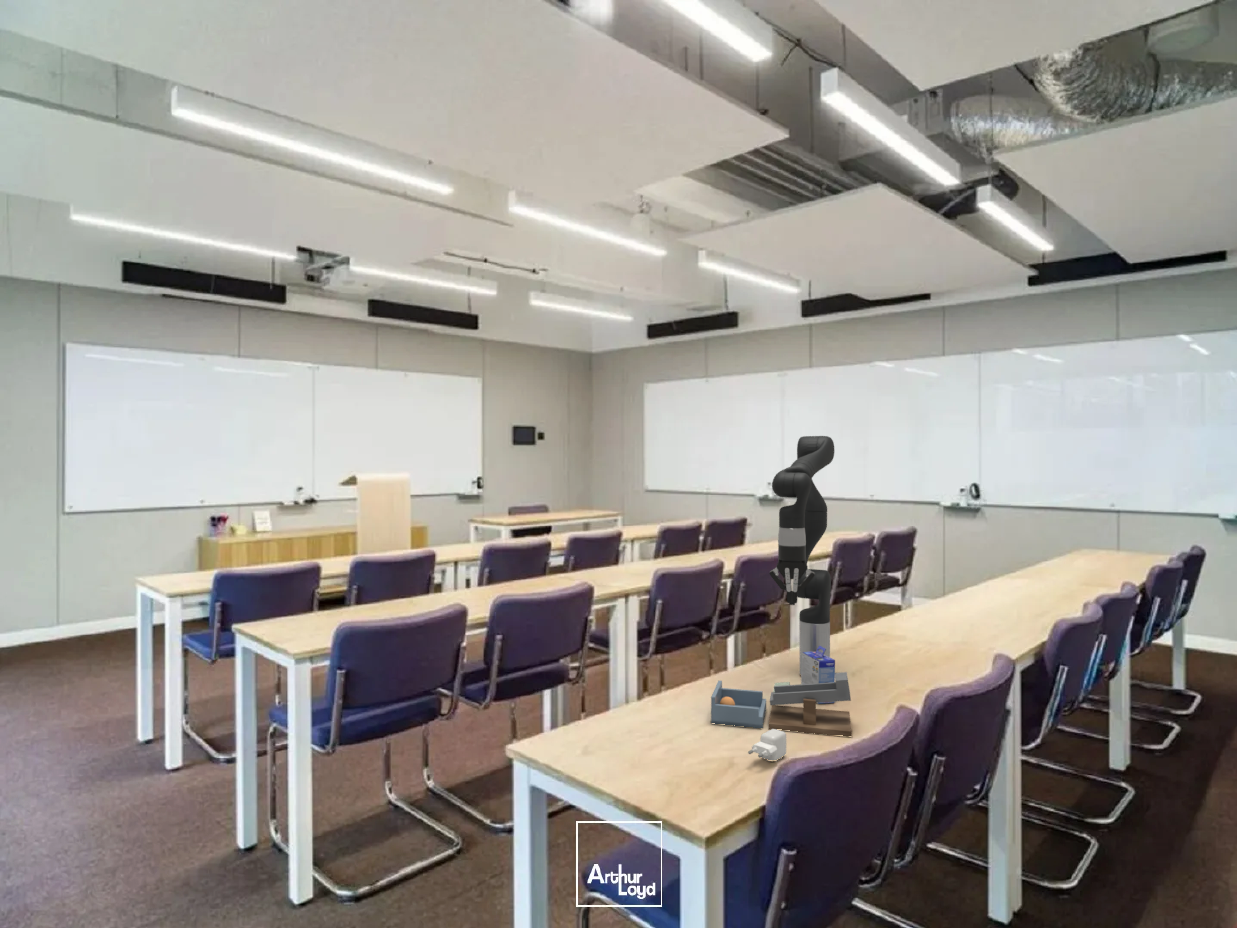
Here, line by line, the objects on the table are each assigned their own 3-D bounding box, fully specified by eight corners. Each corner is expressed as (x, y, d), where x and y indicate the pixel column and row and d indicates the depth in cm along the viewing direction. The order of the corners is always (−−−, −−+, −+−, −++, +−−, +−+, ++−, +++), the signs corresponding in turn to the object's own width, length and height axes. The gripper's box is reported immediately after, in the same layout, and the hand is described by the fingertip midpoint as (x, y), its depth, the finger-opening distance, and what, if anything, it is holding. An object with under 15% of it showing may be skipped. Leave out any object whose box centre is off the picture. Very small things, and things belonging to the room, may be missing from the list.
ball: (727, 712, 193) (717, 700, 194) (738, 703, 193) (728, 691, 193) (726, 717, 190) (715, 705, 190) (737, 708, 189) (726, 696, 189)
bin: (718, 705, 199) (718, 680, 199) (766, 709, 196) (766, 684, 195) (711, 724, 186) (711, 697, 185) (762, 728, 182) (762, 701, 182)
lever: (774, 690, 199) (770, 668, 199) (849, 686, 194) (845, 663, 194) (770, 709, 185) (767, 685, 185) (851, 705, 179) (847, 680, 179)
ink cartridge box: (836, 703, 200) (836, 651, 200) (818, 705, 199) (818, 653, 199) (817, 691, 210) (817, 642, 210) (800, 693, 209) (800, 643, 208)
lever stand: (772, 710, 195) (771, 682, 195) (849, 717, 190) (849, 688, 190) (768, 729, 182) (768, 699, 182) (851, 737, 176) (851, 706, 176)
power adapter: (763, 772, 157) (763, 746, 157) (744, 766, 161) (744, 740, 161) (789, 756, 166) (789, 731, 165) (770, 750, 169) (770, 726, 169)
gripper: (816, 542, 205) (816, 603, 205) (768, 541, 208) (769, 600, 208) (816, 545, 197) (816, 608, 198) (767, 544, 201) (767, 606, 201)
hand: (792, 604), depth 203 cm, fingers closed
